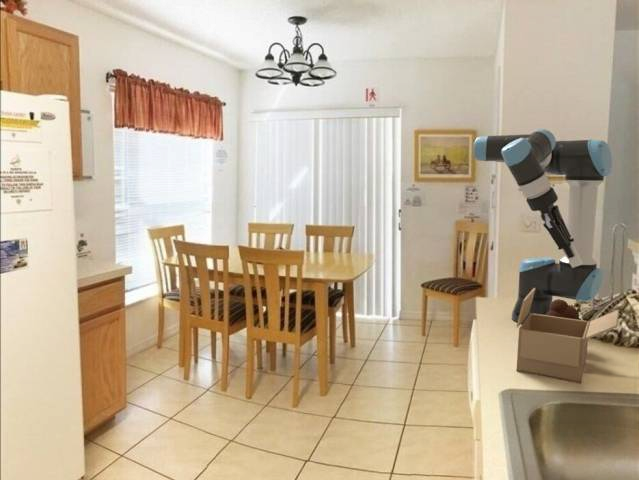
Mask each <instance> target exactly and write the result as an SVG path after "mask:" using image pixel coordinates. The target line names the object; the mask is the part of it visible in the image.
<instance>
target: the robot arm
mask: <svg viewBox="0 0 639 480" xmlns="http://www.w3.org/2000/svg"><path fill="white" fill-rule="evenodd" d="M472 152H473V156H474V158H475V159H476V160H477V161H480V162H498V163H505V165H506V167H507V168H508V170H509V171H510V173H511V175H512V177H513V178H514V180H515V182H516V184H517V186H518V187H519V188H517V189H518V192H521V194H522V195H523V197H524V198H526V200H525V201H526V204H527V206H528V207H529V209H530V210H531V211H533V212H537V211H538V212H540V217H541V220H542V221H543V222H544V223H543V224H542V225H543V227H544V228H545V230H546V231H547V232H548V234H549V235H550V236H551V238H552V240H553V241H554V243H555V244H556V246H557V247H558V248H557V249H558V251H559V250H560V251H561V250H562V251H563V253H564V255H563V256H561V258H560V259H559V262H558V263H557V262H556V261H557V260H556V259H555V258H553V257H532V258H526V259H523V260H522V261H521V262H520V264H519V265H520V266H519V271H518V274H519V275H518V277H519V278H518V293H517V300H516V301H515V304H514V307H513V310H512V312H511V320H512V321H514V322H515V323H517V322H518V318H519V315H520V311H521V307H522V303H523V300H524V299H525V297H526V296H527V295H528V294H529V293H530V292H531V290H532V289H533V288H536V289H535V292H534V296H533V300H532V304H531V308H530V311H529V314H528V315H527V316H526V318H525V319H524V320H523V322H522V323H521V324H520V325H522V324H523V323H524V321H525V320H526V319H527V317H528V316H529V315H530V314H540V315H546V314H547V312H548V311H550V304H551V303H552V302H553V298H554V297H557V298H562V299H564V298H565V299H569V300H575V301H576V302H577V301H580V302H581V301H582V302H591V301H593V300H594V299H595V298H596V297H597V295H598V293H599V291H600V289H601V285H602V281H603V270H602V269H601V268H599V267H597V266H598V265H597V264H598V262H597V261H596V259H595V258H594V257H593V252H594V241H595V230H596V229H595V227H596V226H595V225H596V216H597V203H598V191H599V190H598V189H599V186H601V184H602V183H604V181H605V177H607V176H609V175H610V174H611V172H612V166H613V165H612V162H613V159H612V152H611V149H610V146H609V145H608V143H607V142H606V141H605V140H601V139H600V140H597V139H583V140H581V139H579V140H556V137H555V135H554V134H553V133H552V131H550V130H547V129H543V128H541V129H537V130H535V131H533V132H532V133H529V134H509V135H508V134H507V135H483V136H482V135H481V136H478V137H476V139H475V141H474V142H473V149H472ZM547 174H550V175H555V176H556V175H557V176H565V179H564V181H565V182H566V183H567V184H568V186H569V191H568V204H567V205H568V206H567V215H566V216H567V219H566V222H565V221H564V219H563V216H562V214H561V212H560V209H559V206H558V205H557V204H555V203H556V202H557V201H558V199H559V197H558V194H557V193H556V191H555V189H554V188H553V187H552V183H551V181H550V179H549V177H548V175H547Z"/></svg>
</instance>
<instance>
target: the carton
mask: <svg viewBox="0 0 639 480" xmlns="http://www.w3.org/2000/svg"><path fill="white" fill-rule="evenodd" d="M589 325H590V321H587V320H583V319H581V320H576V319H569V318H562V317H555V316H547V315H540V314H530V315H529V316H528V317H527V319H526V320H525V321H524V323H523V324H521V325H520V326H519V327H518V328H519V329H518V341H517V356H516V357H517V358H516V372H519V373H525V374H529V375H530V374H531V375H536V376H541V377H545V378H549V379H550V378H551V379H557V380H560V381H567V382H570V383H571V382H572V383H577V384H581V383H582V382H583V381H582V380H583V376H584V373H585V368H586V365H587V357H588V345H589V339H586V336H587V332H588V329H589Z"/></svg>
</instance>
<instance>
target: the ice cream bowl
mask: <svg viewBox="0 0 639 480" xmlns="http://www.w3.org/2000/svg"><path fill="white" fill-rule="evenodd" d="M546 315H547V316H555V317H562V318H569V319H576V320H582V318H580V314H579V312H578V310H577V309H576V307H574V306H573V305H569V304H568V303H567V301H565V300H563V299H559V298H557V299H555V300H552V303H551V304H550V311H548V312H547V314H546Z"/></svg>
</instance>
